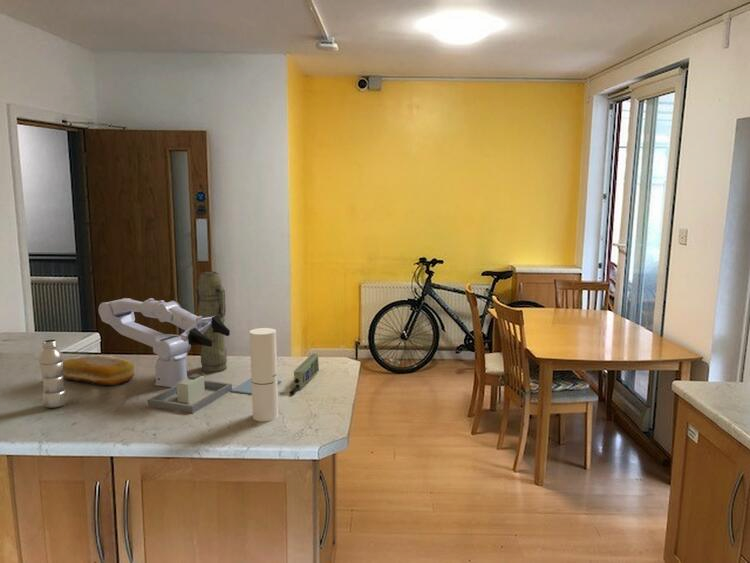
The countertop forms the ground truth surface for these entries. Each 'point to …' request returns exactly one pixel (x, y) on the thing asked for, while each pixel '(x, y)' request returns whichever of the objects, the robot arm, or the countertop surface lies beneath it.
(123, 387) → the countertop surface
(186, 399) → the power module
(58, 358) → the plastic bottle
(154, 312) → the robot arm
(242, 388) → the rubber mat
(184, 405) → the gray rectangular frame
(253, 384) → the cylindrical container
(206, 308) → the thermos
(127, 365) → the bread
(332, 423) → the countertop surface
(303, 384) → the handheld radio
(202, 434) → the countertop surface
